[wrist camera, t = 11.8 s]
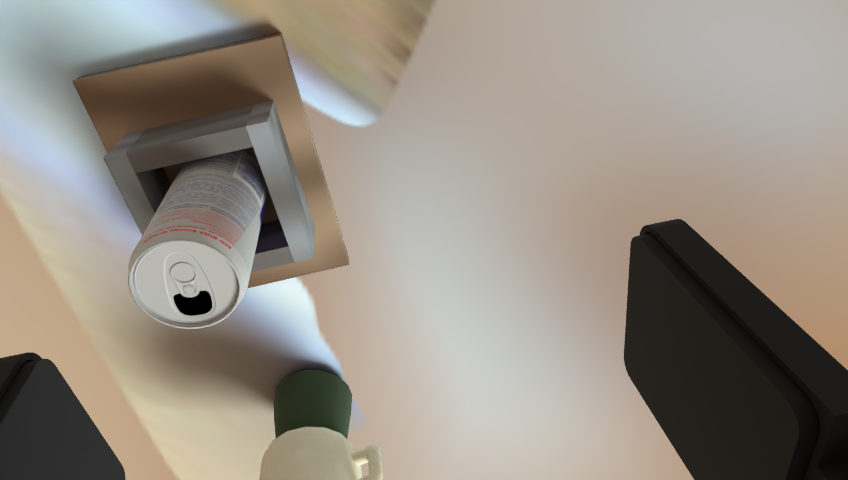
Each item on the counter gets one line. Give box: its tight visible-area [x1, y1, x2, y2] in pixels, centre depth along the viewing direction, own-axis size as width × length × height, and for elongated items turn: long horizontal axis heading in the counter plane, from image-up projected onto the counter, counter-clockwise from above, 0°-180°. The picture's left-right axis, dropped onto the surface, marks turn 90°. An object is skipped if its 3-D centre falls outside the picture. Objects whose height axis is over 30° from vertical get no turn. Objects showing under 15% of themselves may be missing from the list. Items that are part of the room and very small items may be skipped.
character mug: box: [259, 370, 383, 480], centre depth 42 cm, size 11×7×13 cm, turn 113°
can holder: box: [73, 33, 349, 288], centre depth 36 cm, size 16×12×5 cm
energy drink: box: [128, 149, 268, 329], centre depth 32 cm, size 5×5×12 cm
